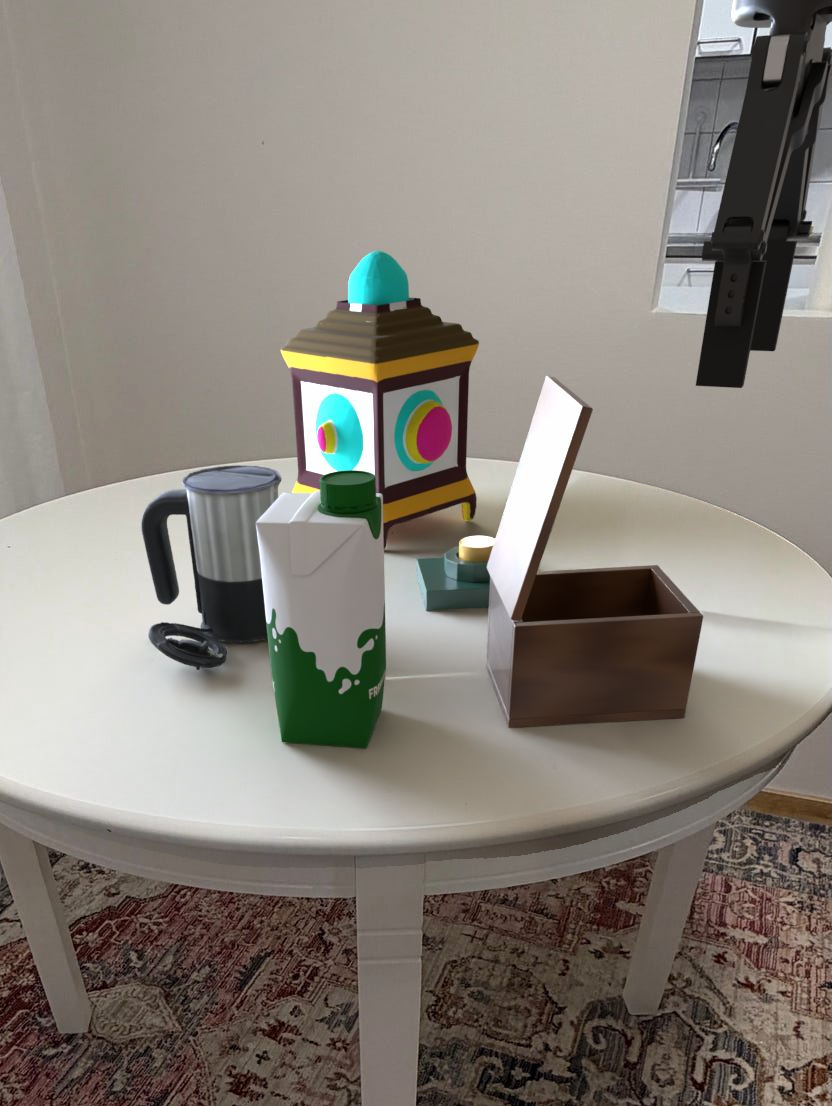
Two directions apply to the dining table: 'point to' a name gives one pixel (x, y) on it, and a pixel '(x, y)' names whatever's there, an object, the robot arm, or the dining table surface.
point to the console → (453, 582)
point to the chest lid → (537, 493)
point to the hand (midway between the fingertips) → (738, 367)
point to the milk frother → (212, 559)
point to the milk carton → (326, 609)
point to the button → (476, 548)
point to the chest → (594, 648)
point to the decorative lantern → (384, 396)
